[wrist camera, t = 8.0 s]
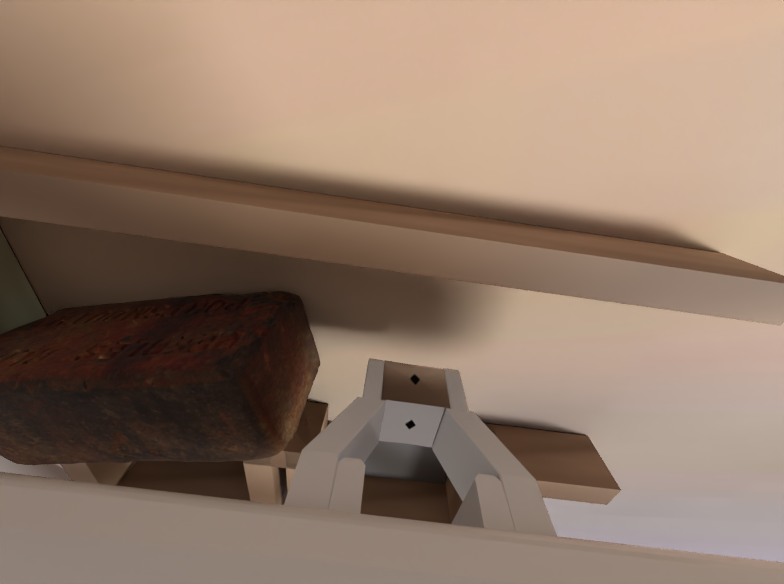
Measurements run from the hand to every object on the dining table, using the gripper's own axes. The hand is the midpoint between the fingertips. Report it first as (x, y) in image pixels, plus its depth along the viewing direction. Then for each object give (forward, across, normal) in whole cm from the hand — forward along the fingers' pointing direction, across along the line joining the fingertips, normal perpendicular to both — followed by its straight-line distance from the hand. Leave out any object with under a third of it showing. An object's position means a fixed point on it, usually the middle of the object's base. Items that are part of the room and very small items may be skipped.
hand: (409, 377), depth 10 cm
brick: (+3, +9, +2) cm, 10 cm away
